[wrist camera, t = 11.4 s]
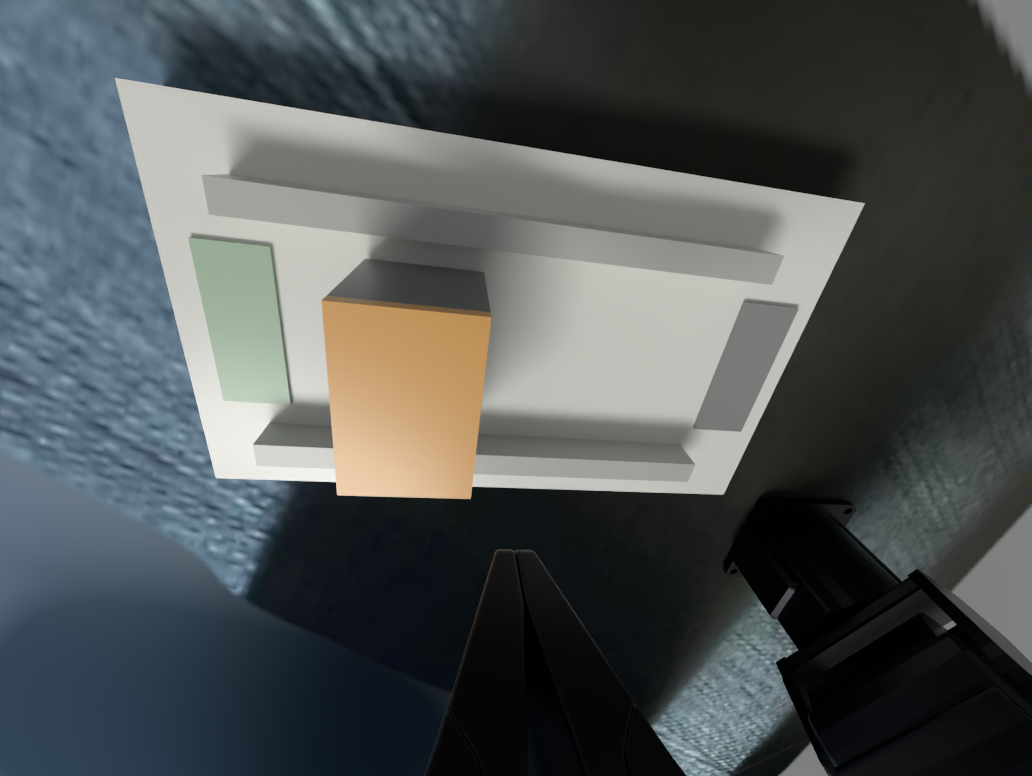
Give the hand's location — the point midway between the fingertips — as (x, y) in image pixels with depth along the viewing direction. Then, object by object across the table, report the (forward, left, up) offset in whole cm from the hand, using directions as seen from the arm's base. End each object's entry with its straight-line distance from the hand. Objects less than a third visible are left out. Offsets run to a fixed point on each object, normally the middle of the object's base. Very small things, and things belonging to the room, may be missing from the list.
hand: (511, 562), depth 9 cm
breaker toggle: (+3, -1, -9) cm, 9 cm away
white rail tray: (-1, -1, -11) cm, 11 cm away
